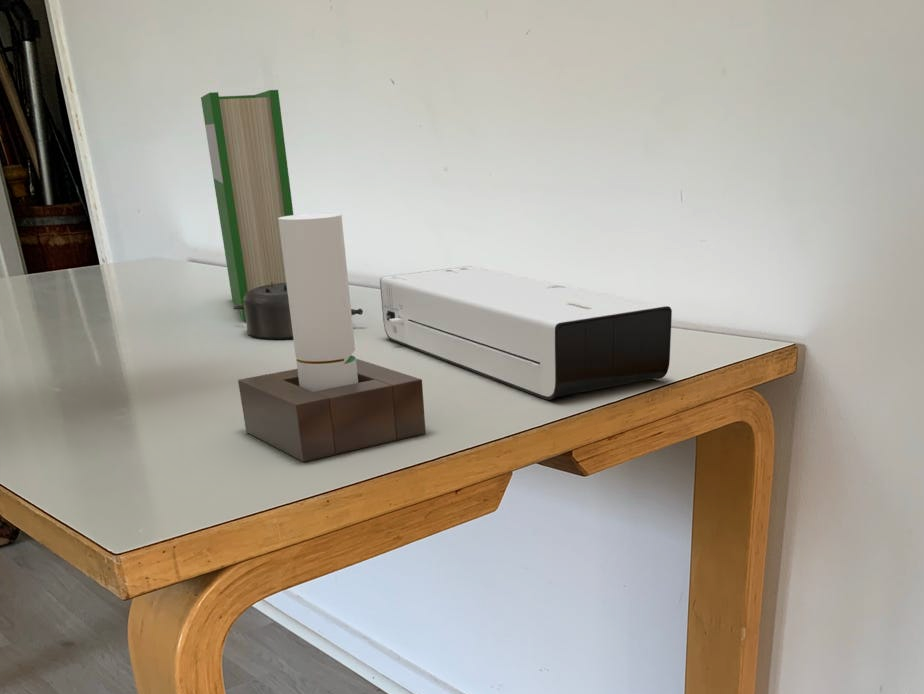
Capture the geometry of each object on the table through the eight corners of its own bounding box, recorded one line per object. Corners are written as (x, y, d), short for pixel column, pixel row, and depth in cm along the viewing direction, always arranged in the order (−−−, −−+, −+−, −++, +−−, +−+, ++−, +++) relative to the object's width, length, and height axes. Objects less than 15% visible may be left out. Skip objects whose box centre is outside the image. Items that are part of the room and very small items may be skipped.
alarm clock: (372, 324, 112) (276, 322, 121) (365, 274, 110) (268, 275, 119) (301, 343, 104) (205, 338, 114) (293, 289, 102) (195, 289, 111)
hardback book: (305, 315, 120) (278, 89, 109) (244, 321, 118) (209, 92, 107) (287, 295, 135) (261, 94, 124) (232, 300, 133) (200, 97, 122)
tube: (327, 444, 71) (300, 220, 64) (294, 433, 74) (265, 218, 67) (374, 431, 74) (353, 214, 67) (341, 421, 77) (318, 212, 70)
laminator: (669, 382, 83) (672, 305, 80) (545, 406, 78) (543, 325, 75) (476, 324, 110) (474, 265, 107) (375, 339, 105) (369, 278, 102)
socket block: (303, 462, 68) (295, 404, 66) (245, 432, 75) (237, 379, 73) (426, 433, 73) (422, 379, 71) (360, 407, 80) (355, 357, 78)
